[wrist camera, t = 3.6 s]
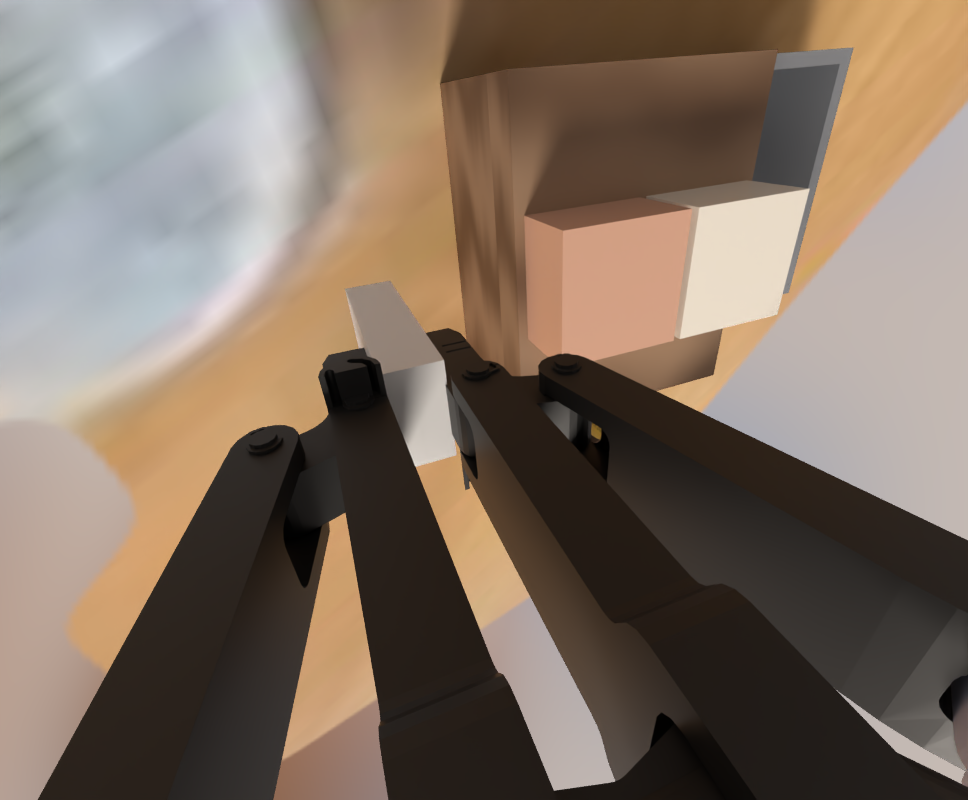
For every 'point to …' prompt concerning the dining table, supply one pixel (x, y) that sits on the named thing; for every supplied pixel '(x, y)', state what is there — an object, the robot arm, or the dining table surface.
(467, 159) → the plate
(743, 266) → the cream tile
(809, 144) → the bin
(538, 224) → the salmon pink square block
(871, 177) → the dining table surface
